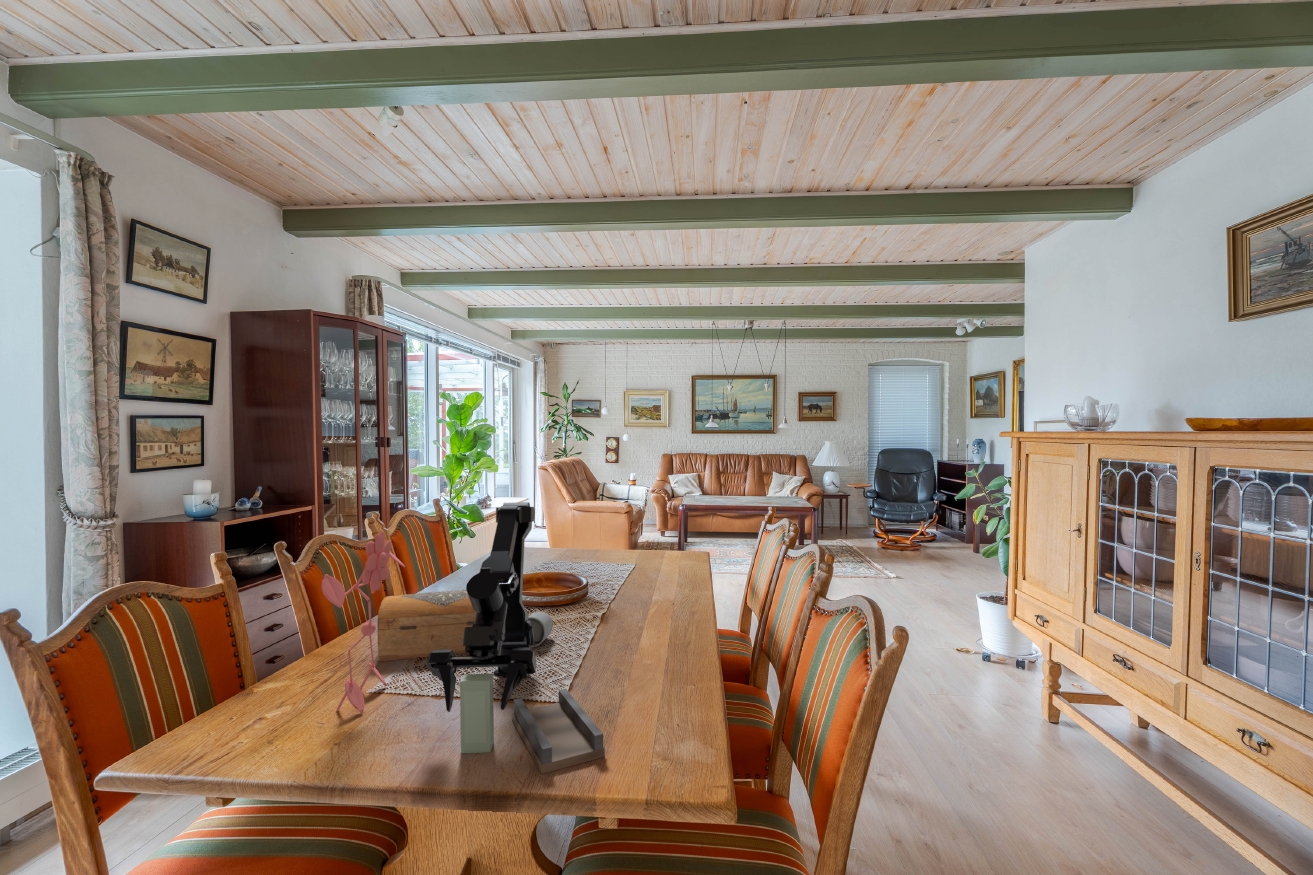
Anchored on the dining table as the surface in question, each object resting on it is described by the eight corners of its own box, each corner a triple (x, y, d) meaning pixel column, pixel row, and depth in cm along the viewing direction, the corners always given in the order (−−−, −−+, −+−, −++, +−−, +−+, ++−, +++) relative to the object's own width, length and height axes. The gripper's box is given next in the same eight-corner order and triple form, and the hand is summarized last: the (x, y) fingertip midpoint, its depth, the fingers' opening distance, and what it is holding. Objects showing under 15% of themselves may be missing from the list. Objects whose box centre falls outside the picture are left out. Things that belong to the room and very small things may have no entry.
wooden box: (505, 630, 167) (505, 580, 166) (504, 651, 150) (503, 596, 150) (391, 639, 160) (390, 588, 160) (376, 662, 144) (375, 605, 144)
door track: (512, 720, 114) (512, 699, 114) (567, 707, 119) (567, 688, 119) (541, 773, 96) (541, 749, 96) (604, 756, 101) (604, 733, 101)
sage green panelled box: (465, 743, 106) (464, 674, 106) (493, 742, 106) (493, 673, 106) (460, 753, 103) (459, 681, 102) (490, 752, 103) (489, 680, 103)
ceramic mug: (554, 636, 160) (554, 608, 160) (545, 647, 152) (544, 618, 152) (517, 636, 161) (516, 608, 161) (505, 647, 153) (505, 617, 153)
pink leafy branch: (308, 731, 110) (309, 543, 110) (373, 674, 136) (375, 522, 136) (390, 732, 110) (392, 545, 110) (440, 675, 136) (442, 523, 136)
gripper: (429, 606, 108) (407, 693, 97) (533, 603, 109) (523, 690, 98) (443, 634, 116) (424, 718, 105) (539, 632, 116) (531, 714, 106)
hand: (475, 710), depth 103 cm, fingers open, 9 cm apart
